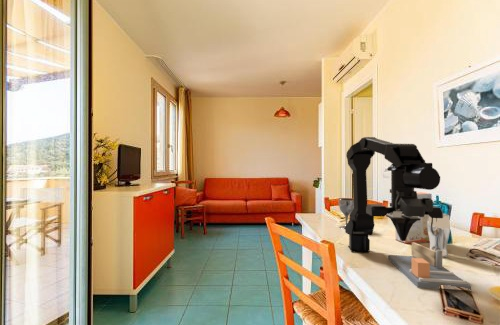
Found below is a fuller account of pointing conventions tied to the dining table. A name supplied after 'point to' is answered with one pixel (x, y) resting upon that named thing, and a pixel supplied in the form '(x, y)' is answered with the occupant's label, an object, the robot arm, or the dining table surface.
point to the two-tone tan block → (424, 253)
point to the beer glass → (438, 233)
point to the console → (437, 273)
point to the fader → (420, 268)
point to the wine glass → (346, 207)
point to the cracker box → (418, 226)
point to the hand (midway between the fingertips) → (402, 240)
